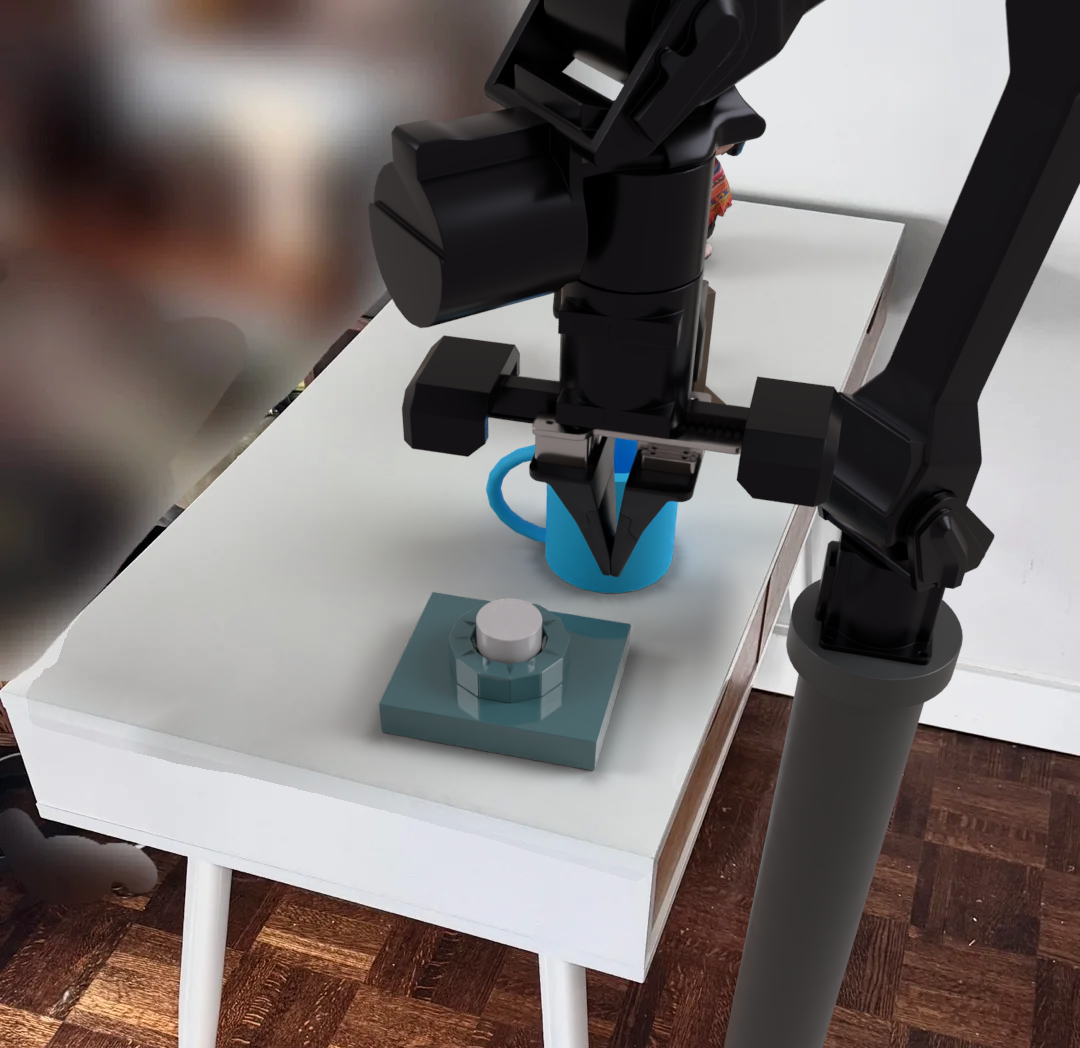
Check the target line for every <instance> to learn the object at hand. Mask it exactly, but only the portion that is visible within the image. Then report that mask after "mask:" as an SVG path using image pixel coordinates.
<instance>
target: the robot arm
mask: <svg viewBox="0 0 1080 1048" xmlns="http://www.w3.org/2000/svg"><path fill="white" fill-rule="evenodd" d="M826 1H827V0H529V2H528V4H527V6H526V7H525V9H524V11H523V13H522V15H521V17H520V18H519V21H518V22H517V24H516V26H515V28H514V30H513V31H512V33H511V35H510V37H509V38H508V40H507V43H506V45H504V48H503V50H502V52H501V53H500V55H499V57H498V59H497V61H496V63H495V65H494V67H493V69H492V70H491V72H490V74H489V76H488V78H487V79H486V81H485V83H484V86H483V92H484V95H485V96H486V98H487V99H489V100H491V101H492V102H493V103H495V104H497V105H499V106H500V107H501V108H503V109H499V110H495V111H494V110H493V111H489V112H484V113H480V114H475V115H470V116H465V117H461V118H460V117H459V118H456V119H455V118H454V119H451V120H431V119H424V120H417V121H411V122H407V123H402V124H398V125H395V126H394V128H393V129H392V131H391V135H390V136H391V150H392V161H389V162H387V163H385V164H384V165H383V166H382V167H381V169H380V171H379V172H378V173H377V177H376V181H375V184H374V189H373V201H370V202H369V203H368V206H367V207H368V210H367V211H368V223H369V231H370V238H371V242H372V247H373V252H374V257H375V260H376V263H377V266H378V270H379V273H380V275H381V279H382V280H383V283H384V285H385V287H386V290H387V292H388V294H389V296H390V297H391V300H392V302H393V303H394V306H395V307H396V308H397V309H398V311H399V312H400V314H401V315H402V316H403V318H404V319H405V320H406V321H407V322H408V323H410V324H411V325H413V326H415V327H417V328H419V329H425V328H426V329H427V328H431V327H435V326H438V325H442V324H446V323H450V322H454V321H457V320H460V319H464V318H468V317H471V316H475V315H479V314H482V313H483V314H484V313H486V312H489V311H494V310H497V309H501V308H504V307H508V306H511V305H512V306H513V305H516V304H519V303H523V302H527V301H530V300H534V299H537V298H542V297H545V296H549V295H552V294H553V302H552V314H553V317H554V319H556V320H558V323H557V324H558V326H557V334H558V335H559V367H558V368H559V372H558V380H553V379H546V378H538V377H531V376H523V375H520V374H521V373H520V372H521V371H520V370H521V354H520V351H519V349H518V347H517V345H516V344H512V343H506V342H498V341H497V342H496V341H489V340H482V339H476V338H475V339H474V338H467V337H461V336H454V335H453V336H451V335H442V336H441V337H440V338H439V339H438V340H437V341H436V342H435V343H434V344H433V345H432V346H431V347H430V349H429V350H428V352H427V354H426V355H425V357H424V358H423V360H422V362H421V363H420V365H419V367H418V368H417V370H416V371H415V373H414V374H413V377H412V378H411V380H410V381H409V383H408V384H407V387H406V388H405V389H404V394H403V400H402V406H401V415H402V417H401V418H402V432H403V441H404V442H405V443H406V444H407V445H408V446H409V447H410V448H411V449H412V450H418V451H419V450H420V451H426V452H431V453H432V452H433V453H439V454H446V455H452V456H459V457H466V458H469V457H470V456H471V455H473V454H474V453H475V452H477V451H478V450H479V449H481V448H482V447H483V446H485V445H486V443H487V441H488V439H489V418H490V419H495V420H501V421H502V420H503V421H511V422H517V423H524V424H531V425H532V427H531V431H532V433H531V434H533V435H534V445H535V453H534V455H533V458H532V460H531V461H529V464H528V465H529V466H528V474H529V477H530V478H531V479H532V480H534V481H535V482H539V483H545V484H546V485H547V484H549V485H550V486H551V487H552V489H553V490H554V491H555V493H556V494H557V496H558V497H559V499H560V500H561V501H562V503H563V504H564V506H565V507H566V509H567V510H568V511H569V513H570V514H571V516H572V517H573V519H574V520H575V522H576V523H577V525H578V527H579V529H580V531H581V533H582V535H583V537H584V538H585V540H586V542H587V544H588V546H589V548H590V550H591V552H592V554H593V556H594V558H595V560H596V562H597V564H598V566H599V568H600V570H601V572H602V574H603V575H607V576H613V577H619V576H620V574H621V573H622V571H623V569H624V567H625V565H626V563H627V561H628V559H629V557H630V555H631V553H632V552H633V550H634V548H635V546H636V544H637V542H638V540H639V538H640V536H641V535H642V533H643V531H644V530H645V529H646V527H647V526H648V525H649V524H650V523H651V521H652V520H653V519H654V518H655V516H656V515H657V514H658V513H659V511H660V510H661V509H662V508H663V507H664V505H665V504H666V503H667V502H669V501H674V502H678V503H685V502H688V501H689V500H691V499H692V498H693V496H694V493H695V489H696V486H697V483H698V479H699V475H700V471H701V468H702V464H703V461H704V456H705V453H706V451H707V452H713V453H720V454H727V455H739V458H738V467H737V473H736V482H737V483H738V484H739V485H740V486H741V487H742V488H743V489H744V490H745V492H746V493H747V494H748V496H749V497H751V499H754V500H762V501H769V502H775V503H782V504H788V505H789V504H790V505H795V506H802V507H810V508H815V507H816V509H817V513H818V516H819V517H820V518H821V519H823V520H824V521H828V522H829V523H831V524H832V525H833V526H834V527H836V528H837V529H838V530H840V534H839V540H830V541H829V542H828V543H827V547H826V551H825V556H824V561H823V566H822V571H821V577H820V579H821V581H820V586H819V591H818V596H817V603H816V610H815V618H816V620H817V621H821V629H820V636H819V646H820V647H821V648H822V649H825V650H830V651H836V652H842V653H849V654H855V655H861V656H867V657H873V658H879V659H886V660H892V661H898V662H904V663H910V664H916V665H928V664H929V663H930V661H931V658H932V645H933V630H934V627H935V623H936V620H937V616H938V613H939V609H940V606H941V602H942V600H944V599H943V598H944V595H945V591H946V589H950V590H954V589H956V588H959V587H961V586H962V584H963V581H964V577H965V575H966V574H967V573H969V572H971V571H974V570H976V569H977V568H978V567H980V565H981V564H982V561H983V560H984V559H985V557H986V555H987V552H988V550H989V549H990V547H991V545H992V543H993V542H994V540H995V533H994V532H992V530H991V529H990V528H989V527H988V526H987V525H986V524H985V523H984V522H983V521H982V520H981V518H979V517H978V516H977V515H976V513H975V512H973V511H972V510H971V508H970V507H969V506H968V505H967V504H968V502H969V499H970V497H971V494H972V491H973V488H974V487H975V484H976V480H977V478H978V475H979V472H980V469H981V467H982V462H983V454H982V442H981V441H982V439H981V430H980V429H981V428H980V416H979V401H980V397H981V395H982V393H983V390H984V388H985V386H986V385H987V382H988V379H989V378H990V376H991V373H992V372H993V369H994V367H995V365H996V362H997V361H998V358H999V357H1000V354H1001V352H1002V350H1003V348H1004V345H1006V341H1007V339H1008V337H1009V335H1010V333H1011V331H1012V329H1013V326H1014V325H1015V323H1016V321H1017V318H1018V316H1019V314H1020V312H1021V310H1022V308H1023V306H1024V303H1025V302H1026V299H1027V297H1028V295H1029V293H1030V291H1031V289H1032V286H1033V285H1034V282H1035V280H1036V278H1037V276H1038V274H1039V272H1040V269H1041V267H1042V265H1043V263H1044V261H1045V258H1046V257H1047V254H1048V253H1049V251H1050V248H1051V246H1052V244H1053V242H1054V241H1055V237H1056V235H1057V233H1058V232H1059V229H1060V227H1061V225H1062V223H1063V221H1064V219H1065V218H1066V217H1065V216H1066V215H1067V212H1068V210H1069V208H1070V206H1071V204H1072V201H1073V200H1074V197H1075V196H1076V193H1077V191H1078V189H1079V186H1080V0H1004V8H1005V21H1006V23H1005V24H1006V25H1005V26H1006V36H1007V37H1006V38H1007V55H1008V69H1009V73H1008V77H1007V80H1006V83H1005V86H1004V88H1003V91H1002V93H1001V95H1000V98H999V100H998V102H997V105H996V107H995V109H994V111H993V114H992V116H991V119H990V121H989V124H988V126H987V129H986V130H985V133H984V136H983V138H982V139H981V142H980V144H979V147H978V150H977V152H976V154H975V156H974V158H973V162H972V164H971V166H970V169H969V171H968V173H967V175H966V178H965V180H964V183H963V185H962V187H961V190H960V192H959V194H958V197H957V199H956V200H955V201H956V202H955V203H954V206H953V209H952V210H951V213H950V215H949V218H948V220H947V223H946V225H945V227H944V230H943V232H942V234H941V236H940V239H939V242H938V243H937V246H936V249H935V251H934V253H933V256H932V258H931V260H930V263H929V265H928V268H927V269H926V272H925V275H924V277H923V280H922V282H921V283H920V287H919V289H918V291H917V294H916V295H915V298H914V301H913V303H912V305H911V307H910V310H909V312H908V315H907V317H906V319H905V322H904V324H903V327H902V328H901V331H900V334H899V335H898V339H897V341H896V343H895V345H894V348H893V350H892V352H891V355H890V357H889V359H888V362H887V363H886V365H885V367H884V369H883V370H882V371H880V372H879V373H878V374H876V375H875V376H873V378H871V379H870V380H868V381H867V382H866V383H865V384H863V385H862V386H861V387H859V388H858V389H856V390H855V391H854V392H852V393H847V392H843V391H838V390H837V389H836V387H835V386H834V385H833V386H832V385H825V384H818V383H811V382H802V381H794V380H787V379H779V378H774V377H773V378H771V377H764V376H756V380H755V384H754V388H753V393H752V396H751V401H750V405H749V407H748V406H741V405H734V404H727V403H725V404H720V403H712V402H711V395H710V394H708V393H702V392H694V391H691V388H692V382H698V378H699V375H700V372H701V367H702V358H703V349H704V340H705V331H706V319H705V307H706V300H707V293H708V286H710V285H709V283H710V281H709V280H706V279H704V271H705V261H706V260H705V251H706V243H708V242H707V241H708V239H707V232H708V223H709V213H710V204H711V194H712V185H713V175H714V166H715V156H716V149H718V148H720V147H723V146H727V145H731V144H736V143H740V142H744V141H746V142H748V141H753V140H756V139H759V138H761V137H762V136H763V135H764V134H765V132H766V129H767V122H766V120H765V118H764V117H763V116H762V115H760V114H759V113H758V112H757V111H756V110H755V109H754V108H753V107H752V106H751V105H750V104H749V103H748V102H747V101H746V100H745V98H744V97H743V95H742V94H740V92H739V90H738V88H737V86H736V85H737V84H738V83H740V82H741V81H742V80H744V79H745V78H747V77H749V76H750V75H751V74H753V73H755V72H756V71H757V70H759V69H760V68H762V67H763V66H765V65H766V64H768V63H769V62H771V61H772V60H774V58H776V57H777V56H778V55H779V54H780V53H781V52H782V51H783V50H784V49H785V46H786V45H787V44H788V42H789V40H790V39H791V36H792V35H793V33H794V31H795V30H796V29H797V27H798V25H799V23H800V21H801V20H802V18H804V17H803V16H805V15H806V14H808V13H810V12H811V11H813V10H814V9H815V8H817V7H819V5H821V4H823V3H824V2H826ZM575 60H577V61H579V62H581V63H583V64H584V65H586V66H589V67H590V68H592V69H593V70H596V71H597V72H599V73H601V74H603V75H604V76H606V77H608V78H610V79H612V80H613V81H615V82H618V83H619V84H621V85H623V86H622V88H621V89H620V90H619V93H618V95H617V96H616V98H615V99H614V100H613V99H611V98H610V97H608V96H605V95H604V94H602V93H601V92H598V91H597V90H595V89H593V88H592V87H590V86H588V85H586V84H585V83H582V82H581V81H579V80H577V79H576V78H574V77H572V76H570V75H569V74H567V73H565V72H564V71H565V69H567V68H568V67H569V66H570V65H571V64H572V63H573V62H574V61H575ZM716 157H717V156H716ZM615 438H620V439H627V440H635V441H637V452H636V455H635V458H634V461H633V464H632V467H631V470H630V473H629V476H628V479H627V482H626V485H625V489H624V494H623V499H622V504H621V509H620V514H619V519H618V524H617V518H616V496H615V475H614V449H615ZM923 657H924V658H923Z"/></svg>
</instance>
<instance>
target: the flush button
mask: <svg viewBox="0 0 1080 1048" xmlns="http://www.w3.org/2000/svg"><path fill="white" fill-rule="evenodd" d="M491 601H492V602H489V603H488V604H486V605H484V606H483V607H482V608H481V609H480V610H479V612H478V614H477V616H476V641H477V648H478V650H479V651H480V653H481V654H482V655H483V656H484V657H485V658H487V659H489V660H491V661H494V662H500V663H506V664H513V663H518V662H524V661H528V660H530V659H531V658H533V657H534V656H536V654H537V653H538V652H539V651H540V649H541V646H542V615H541V613H540V611H539V610H538V609H537V608H536V607H535V606H534V605H532V604H533V603H532V604H531V602H529V601H526V600H524V599H520V598H514V597H513V598H512V597H511V598H510V597H506V598H499V599H495V600H491Z"/></svg>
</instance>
